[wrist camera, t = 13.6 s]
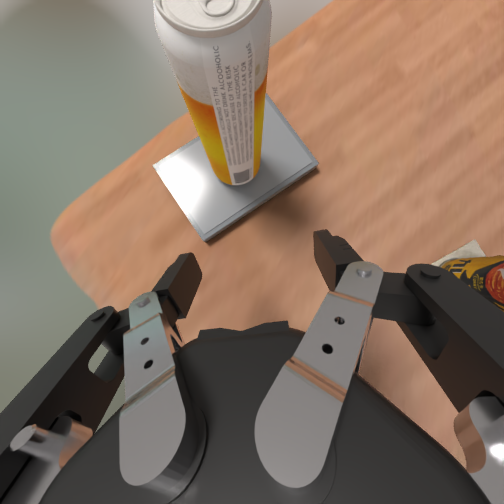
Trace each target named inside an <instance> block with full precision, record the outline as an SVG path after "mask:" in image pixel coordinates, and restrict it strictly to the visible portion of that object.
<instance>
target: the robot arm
mask: <svg viewBox="0 0 504 504" xmlns="http://www.w3.org/2000/svg"><path fill="white" fill-rule="evenodd" d="M313 237H314V256H315V261H316V263H317V265H318V267H319V269H320V271H321V274H322V276H323V278H324V280H325V282H326V284H327V286H328V288H329V290H330V291H329V292H328V294H327V295H326V297H325V299H324V301H323V302H322V304H321V306H320V308H319V310H318V312H317V313H316V315H315V317H314V319H313V321H312V322H311V324H310V326H309V328H308V330H307V331H306V333H305V332H303V331H300V330H297V329H293V328H289V326H288V321H280V322H271V323H264V324H261V325H258V326H255V327H252V328H250V329H247V330H244V331H237V330H231V329H224V328H216V329H207V330H200V332H199V335H198V338H197V339H194V340H192V341H190V342H188V343H187V344H185V342H184V340H183V337H182V335H181V332H180V330H179V327H178V325H177V324H176V321H177V319H183V318H186V316H187V314H188V311H189V309H190V306H191V304H192V301H193V299H194V297H195V294H196V292H197V289H198V287H199V284H200V282H201V279H202V272H201V269H200V267H199V265H198V262H197V260H196V258H195V256H194V254H193V253H185V254H180V255H179V257H178V258H177V260H176V261H175V262H174V263H173V264H172V265H171V266H170V267H168V269H167V270H166V271H165V274H163V276H162V278H160V280H159V281H158V283H157V284H156V285H155V287H154V288H153V290H152V291H151V292H147V293H144V294H142V295H140V296H138V297H137V298H136V299H135V300H133V301H132V303H131V304H130V306H129V308H127V309H125V310H122V311H119V312H117V311H116V310H115V309H114V308H113V307H112V306H107V307H104V308H102V309H99V310H98V311H96V312H94V313H93V314H92V315H90V316H89V317H88V318H87V319H86V320H85V321H84V322H83V323H82V325H81V326H80V327H79V328H78V329H77V330H76V331H75V332H74V333H73V335H71V337H70V338H69V339H68V340H67V341H66V342H65V343H64V344H63V345H62V346H61V348H60V349H59V350H58V351H57V352H56V353H55V354H54V355H53V356H52V357H51V359H50V360H49V361H48V362H47V363H46V364H45V365H44V366H43V367H42V368H41V370H40V371H39V372H38V373H37V374H36V375H35V376H34V377H33V378H32V380H31V381H30V382H29V383H28V384H27V385H26V386H25V387H24V388H23V389H22V390H21V391H20V393H19V394H18V395H17V396H16V397H15V398H14V399H13V400H12V401H11V402H10V404H9V405H8V406H7V407H6V408H5V409H4V410H3V411H2V412H1V413H0V504H504V312H503V311H502V310H500V309H499V308H498V307H496V306H495V305H494V304H492V303H491V302H490V301H488V300H487V299H486V298H484V297H483V296H482V295H480V294H479V293H478V292H476V291H475V290H474V289H472V288H471V287H470V286H468V285H467V284H466V283H464V282H463V281H462V280H460V279H459V278H458V277H456V276H455V275H454V274H452V273H451V272H449V271H448V270H446V269H444V268H441V267H438V266H435V265H430V264H414V265H411V266H410V267H408V269H407V271H406V274H405V273H389V272H383V270H382V269H381V268H380V267H379V266H378V265H376V264H374V263H371V262H365V261H363V260H362V258H361V257H360V256H359V255H358V254H357V253H356V252H355V251H354V249H352V247H351V246H350V245H349V244H348V243H347V241H346V240H345V239H343V238H341V237H339V236H332V235H331V234H330V233H329V231H328V230H327V229H326V230H320V231H314V234H313ZM374 318H380V319H386V320H393V321H396V322H397V323H398V325H399V326H400V328H401V329H402V331H403V332H404V334H405V335H406V337H407V338H408V339H409V341H410V342H411V344H412V345H413V347H414V348H415V350H416V351H417V353H418V354H419V355H420V357H421V358H422V360H423V361H424V363H425V364H426V366H427V367H428V369H429V370H430V372H431V373H432V374H433V376H434V377H435V379H436V380H437V382H438V383H439V385H440V386H441V388H442V389H443V391H444V392H445V393H446V395H447V396H448V398H449V399H450V401H451V402H452V404H453V405H454V407H455V408H456V410H457V411H458V412H459V414H458V415H457V416H456V417H455V419H454V431H455V434H456V437H457V439H458V441H459V443H460V445H461V447H462V449H463V452H464V454H465V458H466V469H465V468H464V467H463V466H462V465H461V464H460V463H459V462H458V461H457V460H456V459H455V458H454V457H453V456H452V455H451V454H450V453H449V452H448V451H447V450H446V449H445V448H444V447H443V446H442V445H440V444H439V443H438V442H437V441H436V440H435V439H433V438H432V437H431V436H430V435H429V434H428V433H426V432H425V431H424V430H423V429H422V428H421V427H419V426H418V425H417V424H416V423H415V422H413V421H412V420H411V419H410V418H409V417H408V416H406V415H405V414H404V413H403V412H402V411H401V410H399V409H398V408H397V407H396V406H395V405H394V404H392V403H391V402H390V401H389V400H388V399H387V398H385V397H384V396H383V395H382V394H381V393H379V392H378V391H377V390H376V389H375V388H374V387H372V386H371V385H370V384H369V383H368V382H367V381H365V380H364V379H363V378H362V377H361V376H360V375H358V374H359V370H360V367H361V363H362V359H363V355H364V351H365V347H366V344H367V340H368V336H369V333H370V329H371V326H372V322H373V319H374ZM100 344H102V345H103V346H104V347H106V348H107V349H108V350H109V352H108V353H107V354H106V356H105V357H104V359H103V360H102V362H101V363H100V365H99V367H98V368H97V370H96V371H95V373H92V372H91V371H90V370H89V368H88V363H89V360H90V358H91V357H92V355H93V354H94V352H95V351H96V350H97V349H98V347H99V346H100ZM124 376H125V403H124V404H123V406H122V407H120V408H119V409H118V410H117V412H115V414H114V415H113V416H112V417H111V418H110V419H109V420H108V421H107V422H106V423H105V424H104V425H103V426H102V427H101V428H100V429H99V430H98V431H97V432H96V433H95V431H96V430H97V428H98V426H99V424H100V422H101V420H102V418H103V416H104V414H105V412H106V410H107V408H108V406H109V405H110V403H111V401H112V399H113V397H114V395H115V393H116V391H117V389H118V388H119V386H120V384H121V382H122V380H123V378H124ZM94 433H95V434H94Z"/></svg>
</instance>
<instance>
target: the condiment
mask: <svg viewBox="0 0 504 504" xmlns="http://www.w3.org/2000/svg"><path fill="white" fill-rule="evenodd" d="M431 265H435V266H438V267H441V268H444V269H446V270H448V271H449V272H451V273H452V274H454V275H455V276H456V277H458V278H459V279H460V280H462V281H463V282H464V283H466V284H467V285H468V286H470V287H471V288H472V289H474V290H475V291H476V292H478V293H479V294H480V295H482V296H483V297H484V298H486V299H487V300H488V301H490V302H491V303H492V304H494V305H495V306H496V307H498V308H499V309H500V310H502V311H503V312H504V256H501V255H499V256H494V257H486V255H485V254H484V252H483V251H482V250H481V248H480V246H479V245H478V243H477V241H476V240H475V239H474V240H473V241H471V242H470V243H468V244H466V245H464V246H463V247H461V248H459V249H457V250H456V251H454V252H452V253H450V254H448V255H446V256H445V257H443V258H441V259H440V260H438V261H436V262H434V263H432V264H431Z"/></svg>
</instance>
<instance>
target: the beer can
mask: <svg viewBox="0 0 504 504" xmlns="http://www.w3.org/2000/svg"><path fill="white" fill-rule="evenodd" d="M153 2H154V3H153V4H154V20H155V27H156V31H157V34H158V36H159V39H160V41H161V43H162V46H163V48H164V51H165V53H166V56H167V58H168V61H169V63H170V65H171V68H172V70H173V73H174V76H175V78H176V80H177V83H178V85H179V87H180V90H181V93H182V95H183V98H184V100H185V102H186V105H187V108H188V110H189V112H190V115H191V117H192V120H193V122H194V125H195V127H196V130H197V132H198V135H199V137H200V140H201V142H202V144H203V147H204V149H205V152H206V154H207V157H208V159H209V162H210V164H211V167H212V169H213V171H214V173H215V175H216V176H217V177H218V178H219V179H220V180H221V181H222V182H224V183H226V184H229V185H242V184H245V183H247V182H249V181H251V180H252V179H253V178H254V177H255V176H256V174H257V173H258V170H259V167H260V160H261V147H262V134H263V121H264V108H265V95H266V83H267V70H268V57H269V43H270V31H271V17H272V12H271V5H270V1H269V0H153Z"/></svg>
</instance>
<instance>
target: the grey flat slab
mask: <svg viewBox="0 0 504 504" xmlns="http://www.w3.org/2000/svg"><path fill="white" fill-rule="evenodd" d="M318 164H319V163H318V162H317V160H316V159H315V157H314V156H313V155H312V153H311V152H310V151H309V149H308V148H307V147H306V145H305V144H304V143H303V141H302V140H301V139H300V137H299V136H298V135H297V133H296V132H295V131H294V129H293V128H292V127H291V125H290V124H289V123H288V121H287V120H286V119H285V117H284V116H283V115H282V113H281V112H280V111H279V109H278V108H277V107H276V105H275V104H274V103H273V101H272V100H271V99H270V97H269V96H268V95H267V93H266V95H265V108H264V121H263V134H262V147H261V160H260V167H259V170H258V173H257V174H256V176H255V177H254V178H253V179H252V180H251V181H249V182H247V183H245V184H242V185H229V184H226V183H224V182H222V181H221V180H220V179H219V178H218V177H217V176H216V175H215V173H214V171H213V169H212V167H211V164H210V162H209V159H208V157H207V154H206V152H205V149H204V147H203V144H202V142H201V140H200V137H199V136H198V137H197V138H195V139H193V140H192V141H190V142H189V143H187V144H186V145H184V146H182V147H181V148H179V149H178V150H176V151H175V152H173V153H171V154H170V155H168V156H167V157H165V158H164V159H162V160H160V161H159V162H157V163H156V164H154V165H153V167H154V168H155V170H156V171H157V173H158V174H159V176H160V177H161V179H162V180H163V182H164V183H165V185H166V186H167V188H168V189H169V191H170V192H171V194H172V195H173V197H174V198H175V200H176V201H177V203H178V204H179V206H180V207H181V209H182V210H183V212H184V213H185V215H186V216H187V218H188V219H189V221H190V222H191V224H192V225H193V227H194V228H195V230H196V231H197V233H198V234H199V236H200V237H201V239H202V240H203V241H204V242H207V241H208V240H210V239H211V238H213V237H214V236H216V235H217V234H219V233H220V232H222V231H223V230H225V229H226V228H228V227H229V226H231V225H232V224H234V223H235V222H237V221H238V220H240V219H241V218H243V217H244V216H246V215H247V214H249V213H250V212H252V211H253V210H255V209H256V208H258V207H259V206H261V205H262V204H263V203H265V202H266V201H268V200H269V199H271V198H272V197H274V196H275V195H277V194H278V193H280V192H281V191H283V190H284V189H286V188H287V187H289V186H290V185H292V184H293V183H295V182H296V181H298V180H299V179H301V178H302V177H304V176H305V175H307V174H308V173H310V172H311V171H313V170H314V169H316V167H317V166H318Z"/></svg>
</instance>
